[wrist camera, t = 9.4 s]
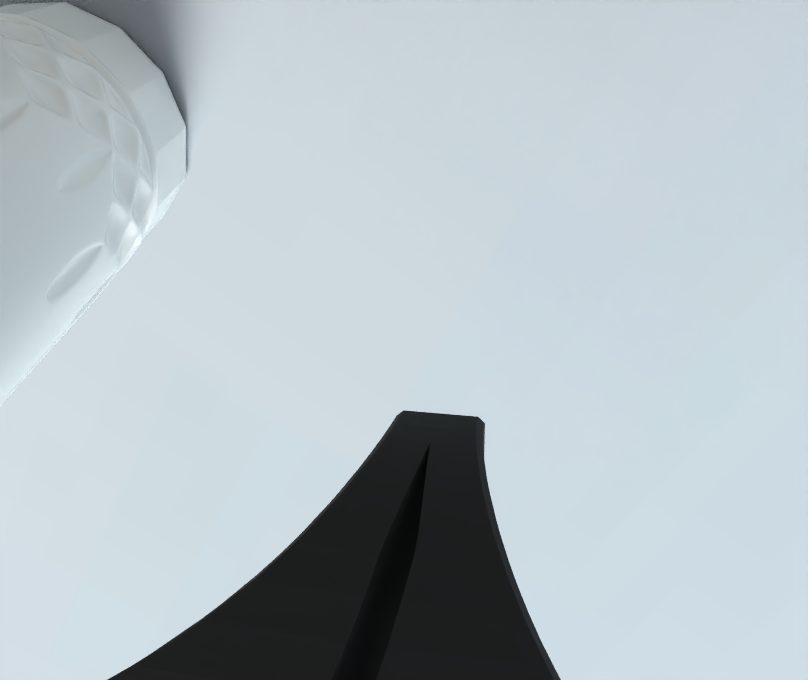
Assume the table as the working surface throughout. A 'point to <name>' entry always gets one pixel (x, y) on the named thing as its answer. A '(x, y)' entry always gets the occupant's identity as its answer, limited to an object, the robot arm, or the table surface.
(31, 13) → the white cup
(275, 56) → the table surface
